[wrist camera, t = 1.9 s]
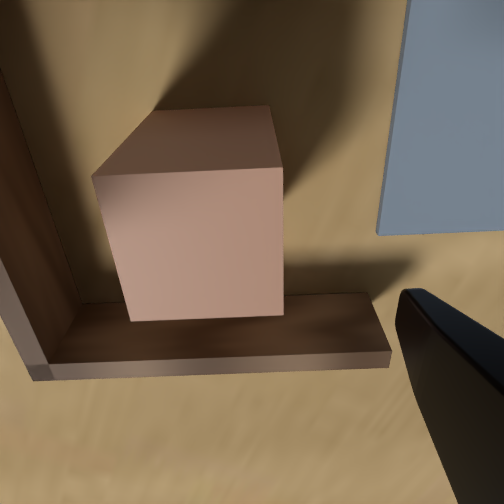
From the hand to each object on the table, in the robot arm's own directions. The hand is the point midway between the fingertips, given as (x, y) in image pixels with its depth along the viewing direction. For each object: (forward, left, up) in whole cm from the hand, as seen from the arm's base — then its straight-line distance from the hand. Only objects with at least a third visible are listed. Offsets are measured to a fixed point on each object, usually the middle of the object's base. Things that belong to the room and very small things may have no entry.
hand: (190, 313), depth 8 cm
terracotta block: (0, 0, -9) cm, 9 cm away
